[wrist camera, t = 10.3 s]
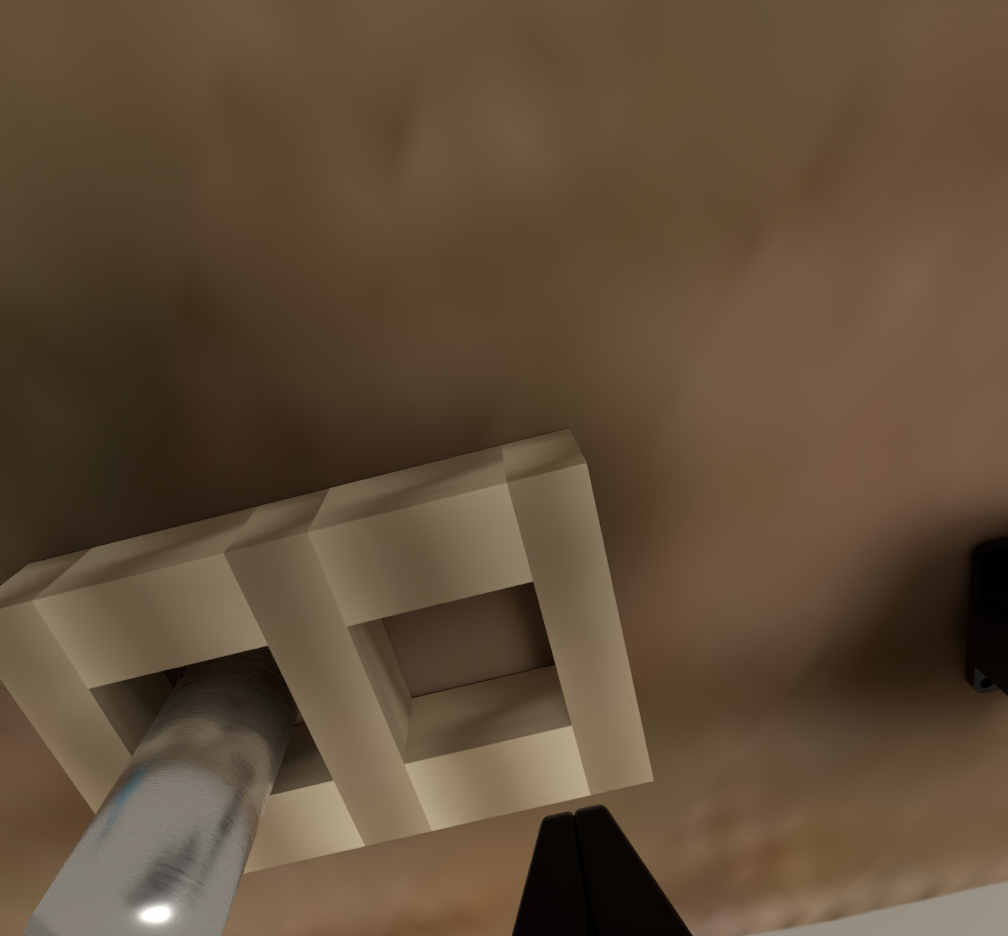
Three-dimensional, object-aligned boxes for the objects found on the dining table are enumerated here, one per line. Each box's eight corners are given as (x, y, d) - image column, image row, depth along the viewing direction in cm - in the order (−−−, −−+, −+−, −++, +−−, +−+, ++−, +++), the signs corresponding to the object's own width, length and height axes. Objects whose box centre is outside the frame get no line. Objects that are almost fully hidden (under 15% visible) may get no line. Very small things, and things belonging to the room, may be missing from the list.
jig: (569, 427, 19) (586, 463, 16) (632, 715, 24) (653, 780, 21) (28, 563, 20) (-43, 619, 17) (187, 817, 24) (152, 894, 22)
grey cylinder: (284, 615, 21) (166, 870, 13) (324, 703, 23) (241, 982, 14) (174, 642, 21) (-13, 911, 13) (221, 727, 23) (80, 1017, 15)
